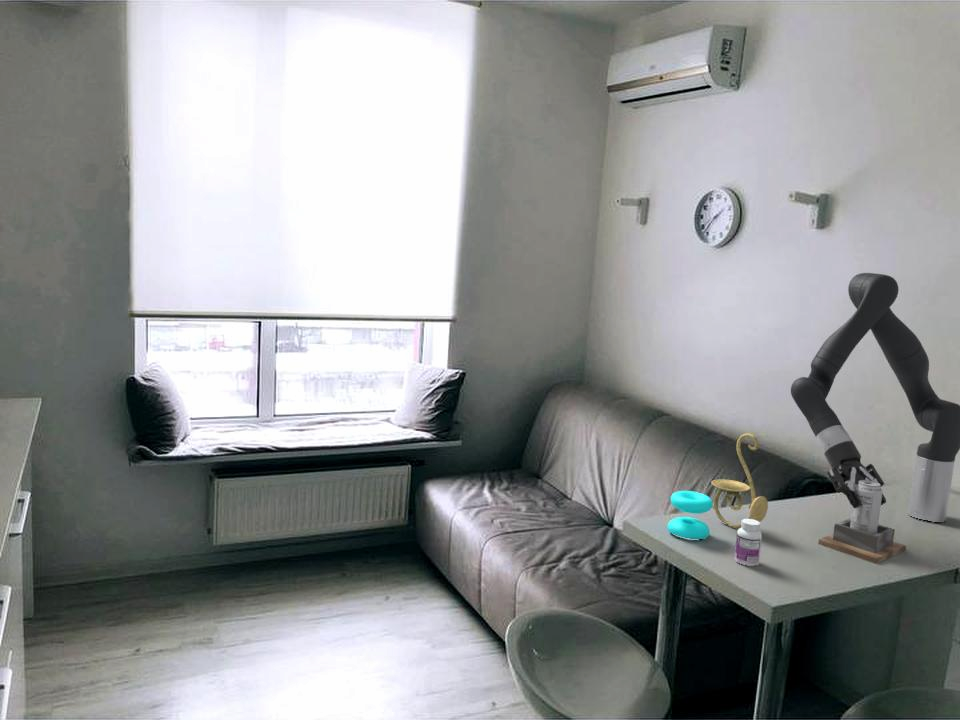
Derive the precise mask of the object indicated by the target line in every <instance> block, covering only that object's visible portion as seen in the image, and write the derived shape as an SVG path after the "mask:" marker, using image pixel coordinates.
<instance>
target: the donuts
mask: <svg viewBox="0 0 960 720" xmlns="http://www.w3.org/2000/svg"><path fill="white" fill-rule="evenodd" d="M670 503H671V504H672V506H673V507H674V508H676V509H677V510H678V511H681V512H684V513H687V514H694V515H696V514H697V515H700V514H704V513H708V512H709V511H710V510H711V509H712V508H713V507H714V501H713V500H712V499H711V498H710V497H709V496H708V495H707V494H704V493H702V492H701V493H700V492H697V491H692V490H678V491H675V492H674V493H672V494H671V496H670ZM667 530H668V532H669V531H670V532H671V533H673V534H675V535H678V536H681V537H685V538H690V539H703V540H705V539H707V538H708V537H709V536H710V532H711V531H710V528H709V526H708V524H706V523H705V522H704V521H702V520H700V519H697V518H694V517H690V516H689V517H688V516H679V517H673V519H671V520H670V521H669V522H668V524H667ZM670 532H669V533H670ZM671 533H670V534H671ZM704 538H705V539H704Z"/></svg>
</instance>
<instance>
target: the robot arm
mask: <svg viewBox="0 0 960 720" xmlns="http://www.w3.org/2000/svg"><path fill="white" fill-rule="evenodd" d="M847 288H848V289H847V291H848V296H849V299H850V301H851V302H852V305H853V306H854V307H855V309H856V310H855V312H854V313H853V314H852V316H851V317H850V318H848V320H846V322H845V323H843V325H841V326H840V327H838V329H836V330H835V331H834V332H833V333H832V334H830V335H829V336H828V338H827V339H826V340H825V341H824V342H823V343H822V345H821V346H820V348H819V349H818V351H817V352H816V354H815V355H814V356H813V359H812V361H811V362H810V368H811V369H810V373H809V375H808V377H807V376H801V377H799V378H796V379H795V380H794V381H793V382H792V384H791V386H790V395H791V397H792V399H793V401H794V402H795V404H796V406H797V407H798V409H799V410H800V412H801V413H802V415H803V416H804V417H805V419H806V421H807V423H808V424H809V427H810V429H811V431H812V433H813V434H814V436H815V438H816V440H817V443H818V446H819V448H820V449H821V451H822V453H823V455H824V456H825V458H826V460H827V462H828V463H829V466H830V469H829V470H828V471H827V472H826V473H827V475H828V478H829V480H830V482H831V483H832V486H833V488H834V490H835V491H836V493H838V494H840V493H842V494H843V495H845V497H846V499H848V502H849V504H850V505H851V507H853V508H858V507H859V506H861V505H862V503H861V501H860V499H859V498H858V496H857V494H856V492H855V490H854V485H857V484H858V483H859V480H870V481H875V482H878V483H880V487H881V488H882V487H883V486H884V485H885V482H884V480H883V479H882V478H881V475H880V474H879V472H878V471H877V469H876V468H875V466H874V465H873V464H872V463H869V464H867V465H863V464H862V462H861V458H862V455H861V453H860V451H859V450H858V448H857V446H856V445H855V443H854V441H853V439H852V438H851V436H850V434H849V432H848V431H847V430H846V428H845V427H844V426H843V423H842V422H841V421H840V418H838V415H837V414H836V413H835V411H834V410H833V409H832V407H830V405H829V403H828V402H827V400H826V399H827V397H828V395H829V393H830V392H831V389H832V386H833V384H834V381H835V378H836V376H837V375H838V373H839V372H840V371H841V369H842V367H843V365H844V364H845V363H846V361H847V360H848V358H849V356H850V355H851V354H852V352H853V351H854V349H855V348H856V347H857V346H858V344H859V343H860V342H861V341H862V339H864V337H865V335H866V334H868V333H869V331H871V333H872V335H873V337H874V338H875V340H876V342H877V344H878V345H879V348H880V349H881V351H882V353H883V355H884V357H885V359H886V360H887V363H888V364H889V367H890V369H891V370H892V371H893V373H894V375H895V376H896V379H897V381H898V383H899V384H900V386H901V388H902V390H903V391H904V393H905V396H906V398H907V400H908V403H909V406H910V408H911V411H912V413H913V415H914V418H915V421H916V422H917V424H918V425H919V426H920V427H921V428H922V429H924V430H926V431H929V432H932V433H931V437H930V441H929V442H926V443H921V444H919V445H918V446H917V451H916V456H915V457H916V458H915V463H914V471H913V476H912V485H911V491H910V498H909V504H908V512H907V514H908V515H909V517H911V516H912V518H913V517H915V518H914V519H916V518H918V519H917V520H919V519H923V520H928V521H933V522H932V523H934V522H942V523H945V522H946V521H947V520H946V519H947V514H948V507H949V500H950V495H951V494H950V493H951V487H952V482H953V481H952V480H953V476H954V475H953V474H954V468H955V462H956V456H957V454H958V453H959V451H960V404H958V403H955V402H951V401H949V400H945V399H941V398H940V397H939V396H938V395H937V394H936V391H934V389H933V387H932V386H931V384H930V380H929V370H930V360H929V356H928V354H927V352H926V350H925V348H924V347H923V344H922V342H921V340H919V338H918V336H917V334H915V333H914V332H913V331H912V329H910V328H909V327H908V326H907V325H906V323H904V322H903V321H902V320H901V319H900V318H899V317H898V316H897V315H896V314H895V313H894V312H893V310H892V309H891V307H892V305H893V304H894V302H895V301H896V299H897V298H898V294H899V285H898V282H897V280H896V279H895V278H894V277H893V276H890V275H887V274H882V273H873V272H862V273H858V274H856V275H853V277H852V278H851V280H850V281H849V284H848V287H847ZM875 479H876V480H875ZM886 503H887V500H886V497H885V495H884V493H883V492H882V499H881V506H883V505H884V504H886ZM923 520H922V521H923ZM945 520H946V521H945ZM944 521H945V522H944Z"/></svg>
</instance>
